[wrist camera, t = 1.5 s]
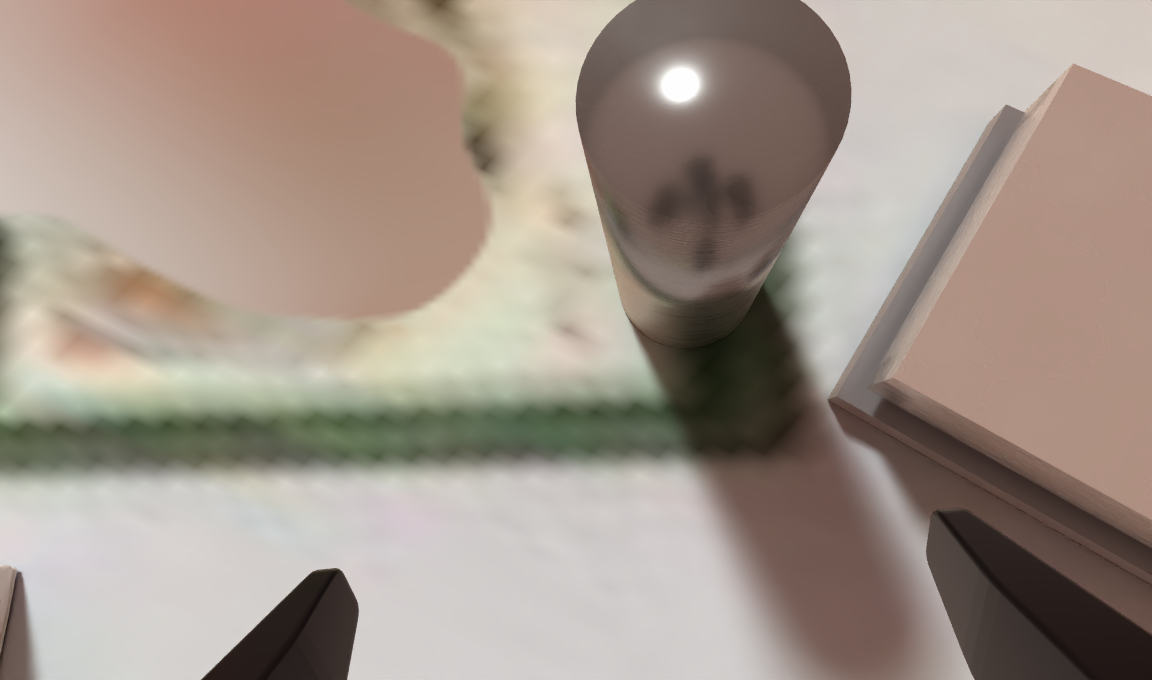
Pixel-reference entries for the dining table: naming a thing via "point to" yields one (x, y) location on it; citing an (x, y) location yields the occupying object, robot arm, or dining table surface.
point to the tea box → (5, 596)
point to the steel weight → (706, 151)
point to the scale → (931, 439)
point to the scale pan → (1049, 307)
